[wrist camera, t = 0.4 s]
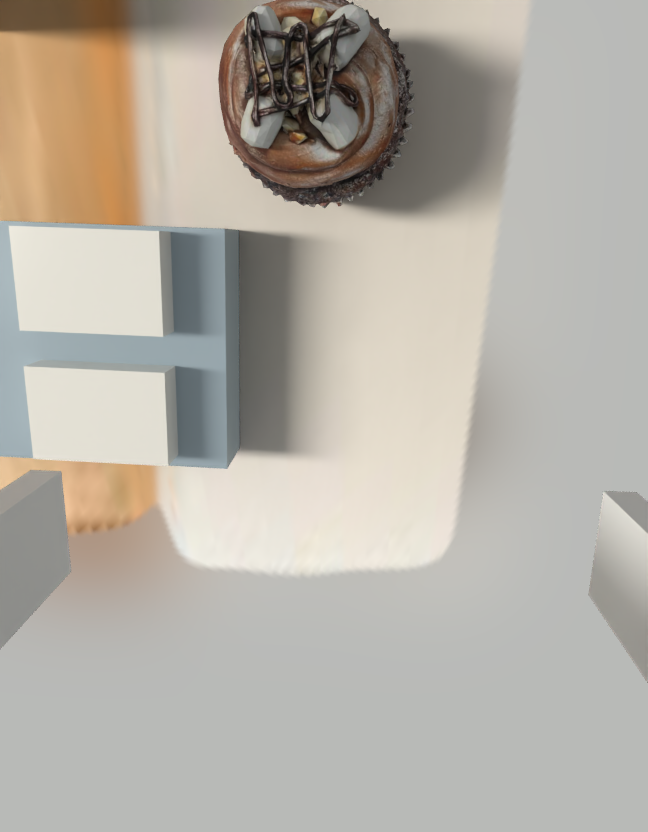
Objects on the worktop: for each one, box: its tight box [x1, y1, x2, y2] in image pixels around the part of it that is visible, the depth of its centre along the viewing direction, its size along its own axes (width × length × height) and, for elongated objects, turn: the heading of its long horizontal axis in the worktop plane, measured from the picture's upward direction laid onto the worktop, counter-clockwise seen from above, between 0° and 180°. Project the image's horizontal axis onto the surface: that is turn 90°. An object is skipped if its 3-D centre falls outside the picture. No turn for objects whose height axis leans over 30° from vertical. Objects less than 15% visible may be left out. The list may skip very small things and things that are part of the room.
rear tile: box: [23, 360, 178, 466], centre depth 35 cm, size 6×8×2 cm
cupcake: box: [218, 0, 414, 208], centre depth 30 cm, size 10×10×10 cm
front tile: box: [9, 226, 174, 337], centre depth 33 cm, size 6×8×2 cm
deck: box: [0, 221, 240, 469], centre depth 37 cm, size 14×16×4 cm
